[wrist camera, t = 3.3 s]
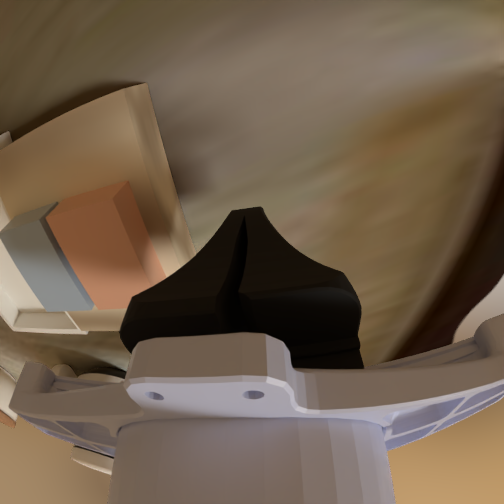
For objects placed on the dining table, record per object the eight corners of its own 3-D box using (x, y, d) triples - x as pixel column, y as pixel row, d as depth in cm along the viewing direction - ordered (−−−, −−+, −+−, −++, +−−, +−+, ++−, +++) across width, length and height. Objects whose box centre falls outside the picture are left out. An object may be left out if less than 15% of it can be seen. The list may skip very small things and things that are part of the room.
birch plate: (209, 293, 20) (205, 326, 18) (94, 302, 21) (81, 330, 18) (147, 82, 12) (123, 88, 9) (15, 142, 13) (-14, 160, 10)
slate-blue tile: (102, 288, 16) (91, 310, 14) (58, 292, 16) (47, 311, 15) (57, 201, 12) (38, 219, 11) (14, 216, 12) (-3, 233, 11)
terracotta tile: (168, 281, 15) (161, 305, 14) (108, 287, 16) (98, 309, 14) (128, 180, 12) (112, 198, 10) (63, 199, 12) (45, 217, 11)
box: (97, 311, 21) (87, 334, 19) (23, 313, 22) (13, 331, 20) (9, 130, 12) (-16, 144, 10) (-52, 179, 13) (-70, 193, 11)
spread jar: (169, 398, 31) (157, 484, 22) (110, 401, 34) (94, 472, 24) (98, 344, 24) (66, 450, 15) (47, 355, 27) (18, 434, 18)
